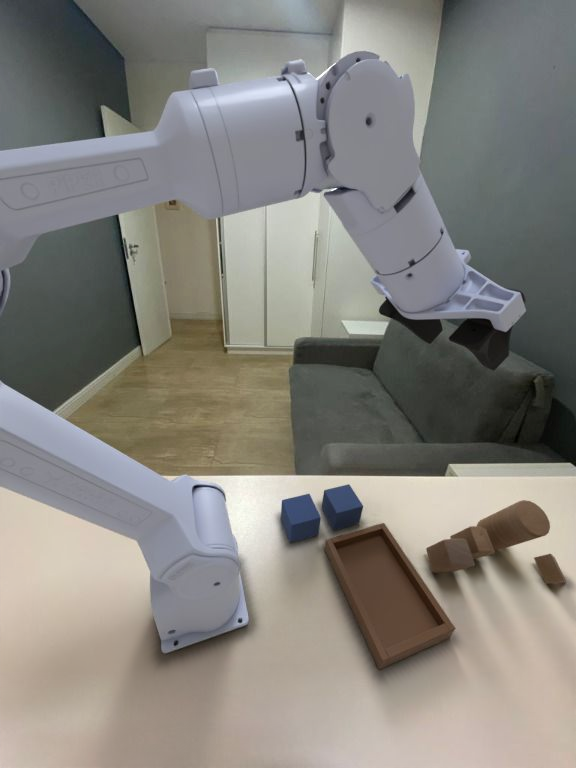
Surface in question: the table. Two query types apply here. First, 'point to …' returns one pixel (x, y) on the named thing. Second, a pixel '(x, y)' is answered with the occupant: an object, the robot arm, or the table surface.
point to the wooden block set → (496, 540)
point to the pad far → (341, 507)
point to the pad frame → (386, 594)
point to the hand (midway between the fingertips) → (463, 347)
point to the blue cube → (300, 517)
